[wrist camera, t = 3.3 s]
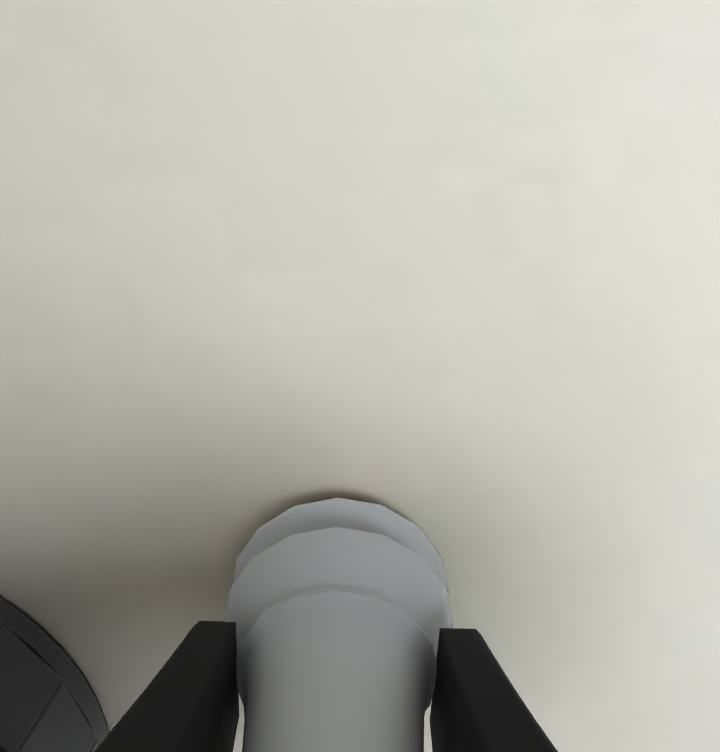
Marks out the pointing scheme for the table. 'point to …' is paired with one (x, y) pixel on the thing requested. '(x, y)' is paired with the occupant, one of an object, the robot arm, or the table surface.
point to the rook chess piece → (337, 629)
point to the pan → (42, 692)
